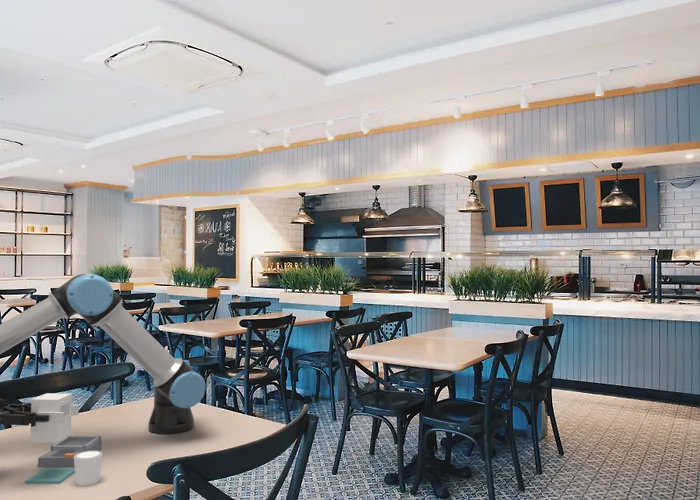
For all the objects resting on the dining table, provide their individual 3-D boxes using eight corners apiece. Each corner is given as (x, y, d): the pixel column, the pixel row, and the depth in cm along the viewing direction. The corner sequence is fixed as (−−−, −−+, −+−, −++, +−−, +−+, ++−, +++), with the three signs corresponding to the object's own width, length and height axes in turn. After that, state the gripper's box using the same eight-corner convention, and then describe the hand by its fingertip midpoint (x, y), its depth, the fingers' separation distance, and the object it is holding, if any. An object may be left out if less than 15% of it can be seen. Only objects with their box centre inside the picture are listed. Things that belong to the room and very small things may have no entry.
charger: (72, 434, 150) (73, 393, 150) (58, 442, 143) (60, 399, 143) (45, 434, 150) (46, 393, 150) (30, 442, 143) (31, 399, 143)
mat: (77, 470, 151) (77, 468, 151) (59, 483, 142) (59, 481, 142) (44, 470, 151) (44, 468, 151) (25, 483, 142) (25, 480, 142)
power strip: (112, 439, 177) (113, 428, 178) (75, 467, 153) (75, 453, 153) (80, 439, 178) (80, 428, 178) (38, 466, 153) (38, 453, 154)
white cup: (79, 476, 146) (80, 450, 147) (106, 476, 147) (106, 449, 147) (68, 487, 140) (69, 459, 140) (96, 486, 140) (97, 458, 140)
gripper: (7, 416, 157) (88, 417, 157) (-43, 438, 137) (49, 439, 137) (8, 390, 157) (88, 391, 157) (-42, 407, 137) (50, 409, 137)
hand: (70, 413), depth 147 cm, fingers closed on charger, 7 cm apart
